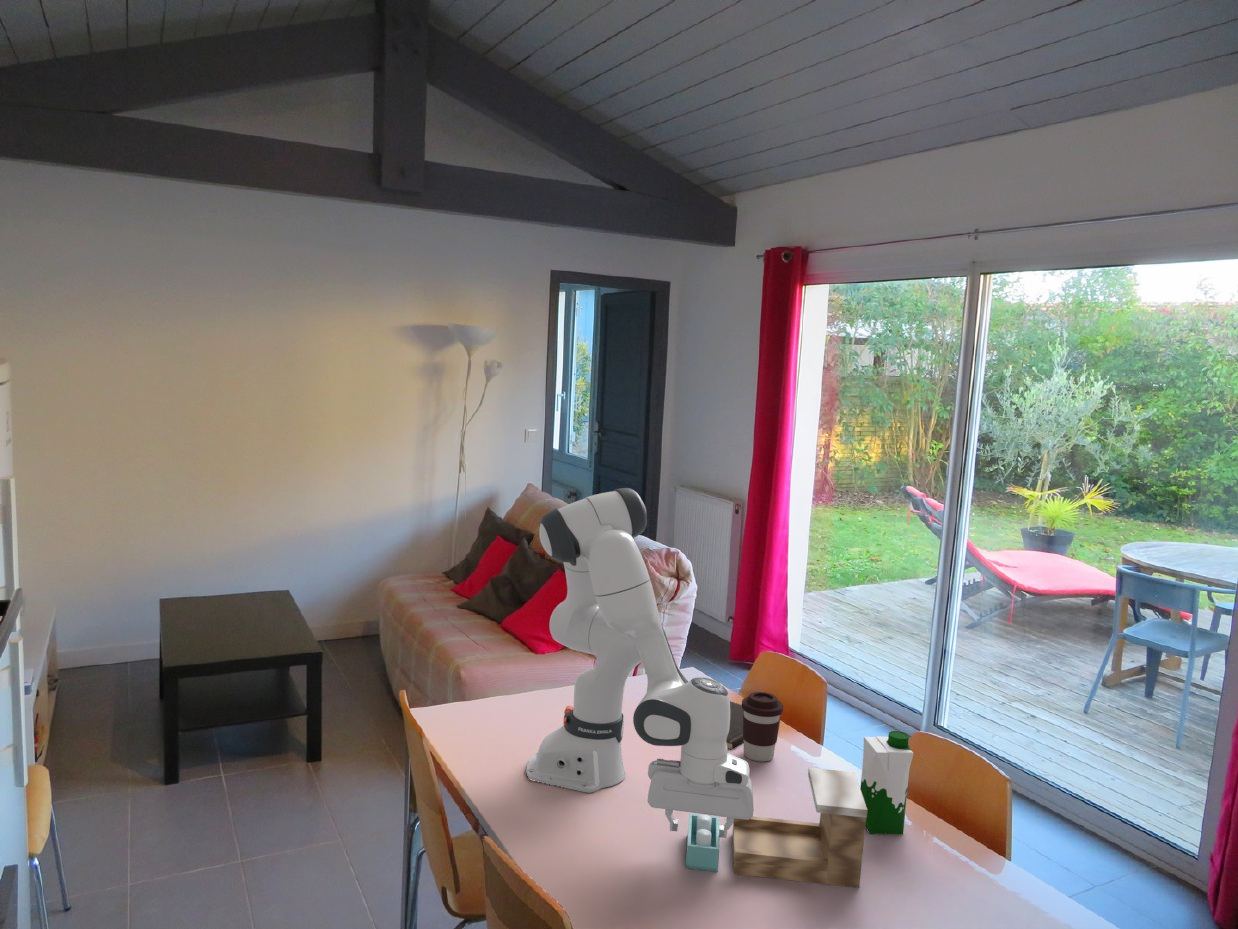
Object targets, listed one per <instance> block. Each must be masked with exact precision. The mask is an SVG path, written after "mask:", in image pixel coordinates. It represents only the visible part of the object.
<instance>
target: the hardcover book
mask: <svg viewBox="0 0 1238 929" xmlns="http://www.w3.org/2000/svg"><path fill="white" fill-rule="evenodd" d="M743 714H744V710H743V709H742V704H740V703H737V702H734V701H731V700H730V728H729V733H728V735H727V740H726V743H727V748H728V749H731V750H732V749H733V750H734V749H736V748H738V747H739V746H741V745H742V744H744V743H743V742H744V739H743Z"/></svg>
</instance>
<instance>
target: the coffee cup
mask: <svg viewBox="0 0 1238 929" xmlns="http://www.w3.org/2000/svg"><path fill="white" fill-rule="evenodd" d="M741 705H742V709H743V710H744V714H743V739H744V743H743V755H744V756H745V757H746V758H747V759H749V760H751V761H755V762H763V763H764V762H769V761H771V760H772V759H773V758H774V756H775V750H776V745H777V741H778V736H779V732H780V731H779V730H780V722H781V719H780V717H781V715H782V714H783V712H784V704H783V703H782V702H781V701H780V700H779V698H777V696H776V695H775V694H773V693H771V692H766V691H754V692H750V693H749V695H748V696H746V697H745V696H744V698H742V700H741Z"/></svg>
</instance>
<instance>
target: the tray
mask: <svg viewBox="0 0 1238 929" xmlns="http://www.w3.org/2000/svg"><path fill="white" fill-rule="evenodd" d="M719 829H720V816H714V815H706V814H698V813H688V825H687V840H686V841H687V844H686V856H685V857H686V858H685V869H689V870H700V871H709V872H715V873H716V872H717V873H718V872H719V864H720V863H719V862H720V861H719V860H720V837H719Z"/></svg>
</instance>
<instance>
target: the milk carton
mask: <svg viewBox="0 0 1238 929" xmlns="http://www.w3.org/2000/svg"><path fill="white" fill-rule="evenodd" d="M909 738H910V737H909V735H908V734H907V733H906V732H903V731H898V730H892V731H889V732H888V736H880V735H875V736H863V752H862V753H863V754H862V768H861V776H860V789H861V792H862V795H863V798H864V801H865V804H866V807H867V818H866V824H865V830H867V832H868V833H869V834H870V835H904V830H905V829H904V828H905V827H904V826H905V818H906V806H907V798H908V796H907V795H908V789H909V788H908V785H909V777H910V776H909V775H910V768H911V764H912V760H913V757H914V752H913V751H912V748H910V745H909Z"/></svg>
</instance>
